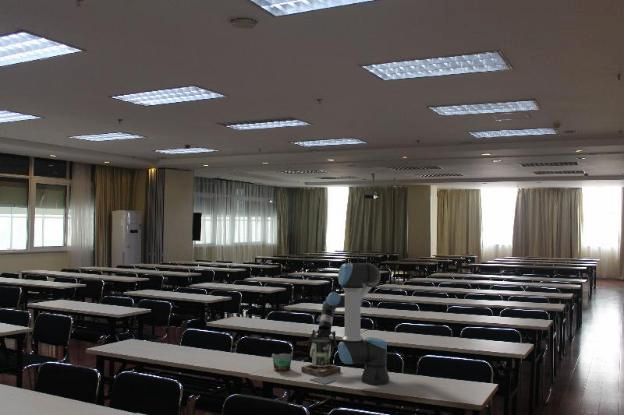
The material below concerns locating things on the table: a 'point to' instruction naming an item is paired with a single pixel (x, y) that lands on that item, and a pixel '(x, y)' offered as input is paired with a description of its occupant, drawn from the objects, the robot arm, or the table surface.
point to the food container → (282, 362)
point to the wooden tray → (329, 371)
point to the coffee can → (320, 352)
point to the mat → (322, 380)
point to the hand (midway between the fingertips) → (319, 356)
